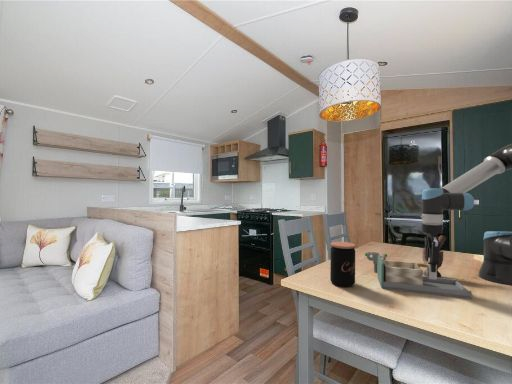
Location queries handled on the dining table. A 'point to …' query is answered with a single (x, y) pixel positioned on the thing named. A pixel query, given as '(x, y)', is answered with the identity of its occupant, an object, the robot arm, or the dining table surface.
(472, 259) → the dining table surface
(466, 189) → the robot arm
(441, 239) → the mortar and pestle
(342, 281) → the coffee jar
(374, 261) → the mechanical component
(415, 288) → the bay
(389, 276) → the crate
